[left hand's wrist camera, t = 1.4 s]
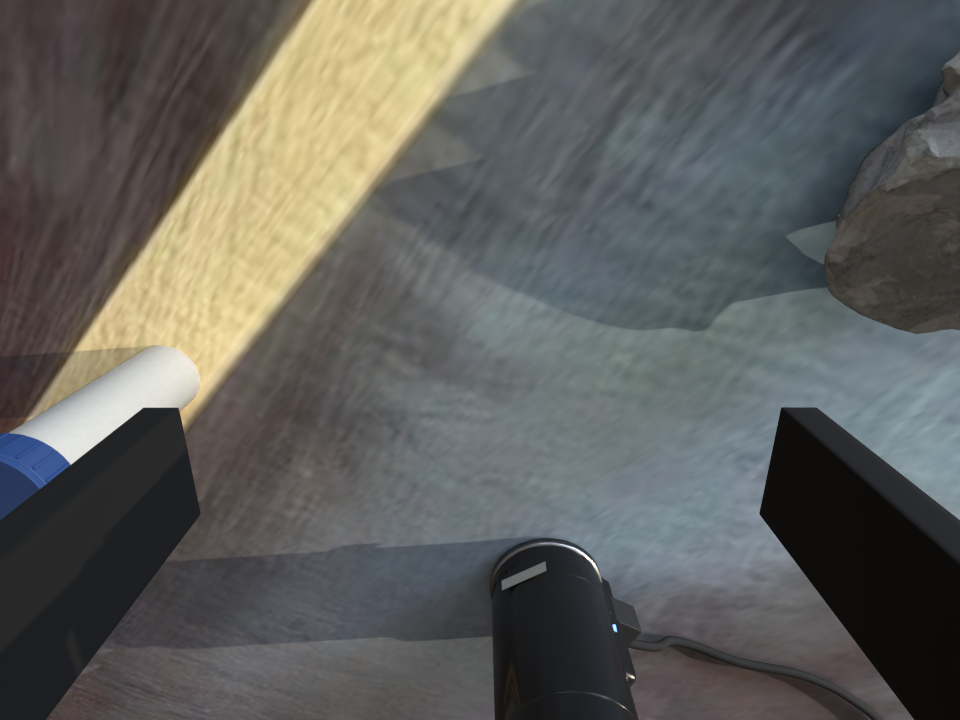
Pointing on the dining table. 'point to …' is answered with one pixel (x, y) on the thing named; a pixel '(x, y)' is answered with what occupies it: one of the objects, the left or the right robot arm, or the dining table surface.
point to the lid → (25, 469)
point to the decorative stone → (905, 223)
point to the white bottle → (115, 400)
